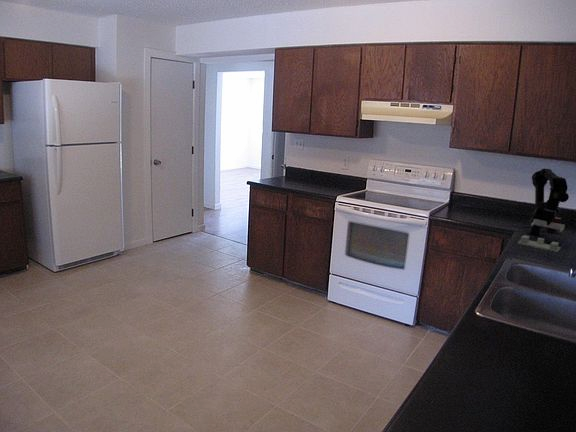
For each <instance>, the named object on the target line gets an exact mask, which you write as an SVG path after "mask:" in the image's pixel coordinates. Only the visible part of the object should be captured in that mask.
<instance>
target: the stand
mask: <svg viewBox="0 0 576 432" xmlns="http://www.w3.org/2000/svg"><path fill="white" fill-rule="evenodd" d="M559 244H560V242H558V241H557V242H556V241H551V243H550V244H548V243H545V238H543V237H538V238H537V240H536V241H535V240H530V236H529V235H525V234H524V235H522V236H520V240H519V241H517V245H522V246H527V247H530V246H531V247H532V248H535V249H539V248H540V249H539V250H543V249H544V251H548V250H550V251H549V252H552V251H554V252H553V253H556V252H557V253H558V252H559V251H560V250H561V248H562V247H561V246H559Z"/></svg>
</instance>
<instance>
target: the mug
mask: <svg viewBox="0 0 576 432" xmlns="http://www.w3.org/2000/svg"><path fill="white" fill-rule="evenodd" d="M552 222H553V223H558V224H562V217H559V216H556V217H555V219H554V220H553V221H552ZM545 228H546V231H547V232H546V233H550V234H556V232H557V231H558V230H557V229H553V228H549V227H545Z"/></svg>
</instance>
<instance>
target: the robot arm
mask: <svg viewBox="0 0 576 432" xmlns="http://www.w3.org/2000/svg"><path fill="white" fill-rule="evenodd" d="M531 180H532V181H531V182H532V185H533V187H534V190H535V191H534V192H535V193H534V194H535V195H534V199H535V200H534V203H535V204H534V205H535V206H534V211H533V212H532V213H531V216H530V217H529V218H528V221H527V222H528V224H529V225H530V229H529V232H527V233H528V235H532V236H537V237H540V236H542V233H541V230H542V227H543V226H537V225H533V226H531V223H533V221H534V219H538V220H543V221H547V225H550V223H551V222H552V221H553V220H554V219H555V217H558V215H559V213H560V212H561V208H560V207H559V205H560V203H565V202H567V201H568V200H569V197H570V196H569V194H568V193H567V191H568V189H569V188H568V184H567V183H568V182H567V180H566V178H565V177H562V176H558V174H555V173H554V172H553V171H552V169H550V168H541V169H540V170H538V171H536V172H534V173H533V174H532V175H531ZM548 181H549V186H550V188H549V195H548V199H547V200H546V201H545V186H546V185H547V183H548Z"/></svg>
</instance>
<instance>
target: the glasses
mask: <svg viewBox="0 0 576 432" xmlns="http://www.w3.org/2000/svg"><path fill="white" fill-rule="evenodd" d="M533 225H537V226H542V227H543V228H544V227H545V228H546V227H549V228H553V229H557V231H559V232H563V231H564V230H565V225H566V224H562V223H560V224H558V223H553V222H551V223H550V225H547V221H543V220H538V219H534V221H533V223H531V224H530V227H531V226H533Z"/></svg>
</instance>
